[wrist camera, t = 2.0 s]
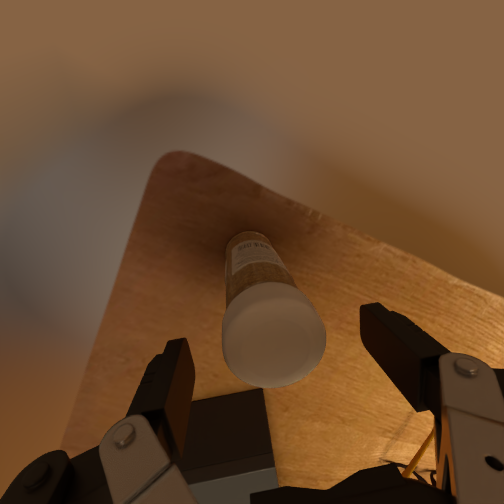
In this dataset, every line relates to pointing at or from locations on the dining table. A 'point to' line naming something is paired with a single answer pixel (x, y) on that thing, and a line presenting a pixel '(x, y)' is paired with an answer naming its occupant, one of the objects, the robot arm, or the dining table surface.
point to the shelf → (228, 449)
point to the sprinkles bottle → (267, 317)
